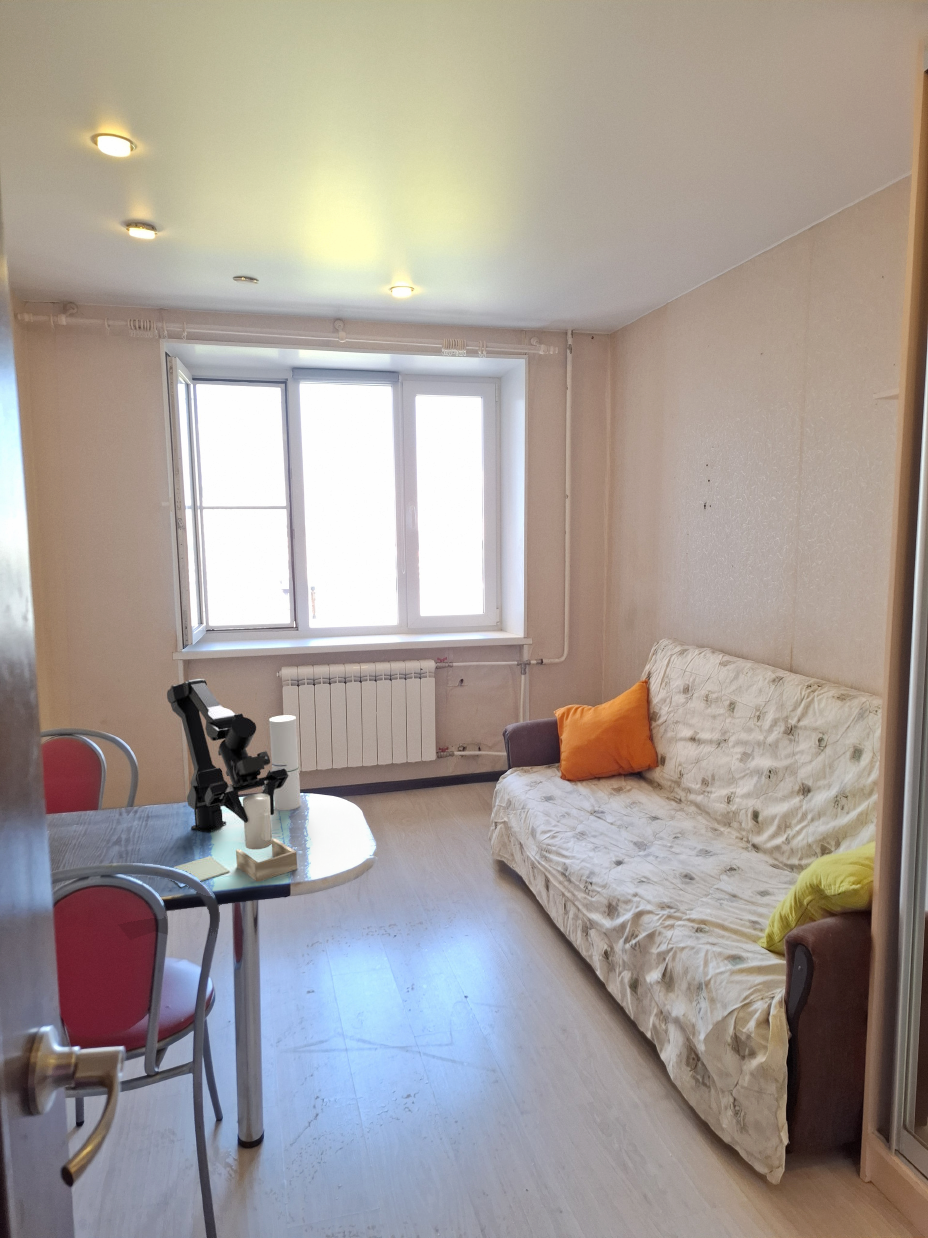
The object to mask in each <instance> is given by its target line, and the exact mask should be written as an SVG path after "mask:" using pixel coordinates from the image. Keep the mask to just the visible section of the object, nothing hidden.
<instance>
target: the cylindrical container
mask: <svg viewBox="0 0 928 1238" xmlns="http://www.w3.org/2000/svg"><path fill="white" fill-rule="evenodd" d="M268 720H269V736H270V737H269V738H270V739H269V740H270V752H271V753H270V754H271V770H273V769H277V768H281V767H282V768H284V769H285V770H286V771H287V773H288V775H289V776H288V778H287V779H286V781H285V783H284V785H283V786H282V787H281V788H278V789H275V790H274V810H277V811H292V810H295V809H298V808H299V807H301V806H302V805H301V803H302V802H301V788H300V785H301V784H300V769H299V755H298V754H299V752H298V750H299V748H298V734H297V732H298V731H297V719H296V716H295V715H290V714H289V715H287V714H285V715H277V716H273V717H271V718H269V719H268Z"/></svg>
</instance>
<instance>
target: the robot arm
mask: <svg viewBox="0 0 928 1238" xmlns="http://www.w3.org/2000/svg"><path fill="white" fill-rule="evenodd" d="M166 699H167V701H168V703H169V704H170V706H171V710H172V711H173V713H175V714H176V715H177V716H178V718H180V719H181V723H182V727H183V731H184V734H185V739H186V742H187V743H186V744H187V747H188V751H189V755H190V759H191V763H192V767H193V774H192V776H191V778H190V779H191V780H190V789H189V790H188V791H189V792H188V793H187V796H186V800H187V801H186V802H187V804H188V805H187V806H188V807H190V808H191V809H193V810H194V811H193V812H194V813H193V814H194V825H192V826H190V830H195V831H200V832H207V833H210V832H212V831H215V830H216V829H218V828H220V827H223V826H224V825H226V824H227V821H225V820H223V810H222V807H225V808H226V809H228V810H229V811H231V812H232V813H233V814H234V815H236V816H237V818H239V819H240V820H241V821H242V822H243V823H244V822H245V823H247V822H248V818H247V815H246V813H245V810H244V808H243V803H242V802H241V800H240V797H239V796H240V795H239V793H240V792H245V791H249V790H253V789H256V788H261V789H262V792H261V793H262V794H268V795H269V796H270V810H271V816H273V815H274V814H275V807H274V790H275V789H278V788H281V787H282V786H283V785H284V783H285V781H286V779H287V778H288V776H289V775H288V773H287V771H286V770H285V769H284V768H282V767H281V768H277V769H273V770H272V769H270V770H268V771H267V774H266V776H264V777H260V778H259V776H260V775H261V772H262V771H261V770H265V767H266V766H268V765H270V764H271V758H270V755H269V754H268V751H267V750H266V751H265V750H264V751H260V752H258V753H257V754H256V756H252V755H249V753H248V751H247V748H248V747H249V746H250V745H251V742H252V741H253V738H254V736H255V733H256V731H257V724H256V722H254V721H253V720H252V719H251V718H248V717H245V716H244V715H243V713H235V712H233V710H231V709H229V708H225V707H223V706H222V705H221V703H220V702H219V701H218V700H217V698H216V697H215V695H214V694H213V692H212V691H211V690H210V688H209V687H208V683H207V681H206V679H204V678H196V679H188V680H186V681H184V682H183V683H179V684H174V685H173V684H172V685H171V686H170V688H169V689H168V690H167V692H166ZM201 715H202V717H203V718H204V720H205V728H204V724H203V721H202V718H201ZM206 735H207V737H208V738H210V741H213V742H215V741H220V740H221V742H220V744H219V746H218V750H217V751H218V753H217V755H218V756H221V758H222V761H223V764H224V766H225V768H226V771H225V774H226V776H227V777H229V779H230V782H231V784H228V782H227V781H226V779H225V778H224V774H223V770H222V768H220V767H216V766H215V765H214V764H213V760H212V757H211V753H210V750H209V745H208V741H207V737H206Z"/></svg>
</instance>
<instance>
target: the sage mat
mask: <svg viewBox="0 0 928 1238" xmlns="http://www.w3.org/2000/svg"><path fill="white" fill-rule="evenodd" d="M173 867H174V868H177V869H180V870H184V871H187V872H188V873H191V874H192V875H194V876H195V877H197V878H198V879H199V880H201V881H200V882H203V881H206V880H210V879H212V878H215V877H218V876H221V875H225V874H229V873H230V871H231V870H229V869H228V868H227V867H225V866H224V865H223V864H222V863H220V862H219V861H218V860H216V859H215V858H214V857H212V856H211V855H209V856H207V857H202V858H200V859H196V860H193V861H189V862H185V863H182V864H179V865H176V866H173Z"/></svg>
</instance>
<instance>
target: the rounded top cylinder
mask: <svg viewBox="0 0 928 1238" xmlns="http://www.w3.org/2000/svg"><path fill="white" fill-rule="evenodd" d="M242 806H243V808H244V810H245V813H246V815H247V818H248V822H247V823H245V822H244V821H243V826H244V828H243V829H244V843H245V844H244V846H245V848H246V849H248V850H262V849H265V848H268V847H270V846H272V839H273V831H272V829H273V828H272V815H271V810H270V796H269V795H268V794H262V792H261V793H260V792H259V793H252V794H248V795H246V796H244V797H243V798H242Z"/></svg>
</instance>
